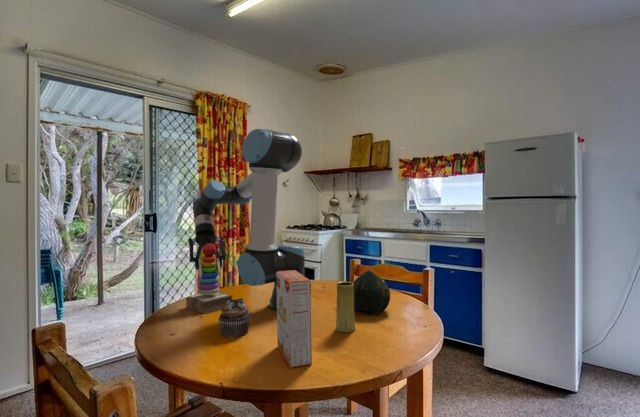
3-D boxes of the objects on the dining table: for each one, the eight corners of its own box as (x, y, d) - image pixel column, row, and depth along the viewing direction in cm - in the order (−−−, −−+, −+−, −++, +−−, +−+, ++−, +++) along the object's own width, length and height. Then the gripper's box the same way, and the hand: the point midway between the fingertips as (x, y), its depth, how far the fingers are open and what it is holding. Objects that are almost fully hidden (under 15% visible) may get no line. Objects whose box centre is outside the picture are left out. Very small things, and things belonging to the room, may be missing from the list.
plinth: (231, 306, 136) (231, 295, 136) (203, 313, 127) (203, 302, 127) (214, 300, 144) (214, 290, 144) (186, 307, 135) (186, 296, 135)
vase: (357, 327, 113) (357, 282, 113) (352, 333, 107) (352, 286, 107) (338, 325, 115) (338, 280, 115) (333, 331, 109) (333, 285, 109)
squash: (366, 305, 118) (384, 267, 125) (335, 298, 129) (353, 263, 136) (387, 326, 125) (403, 289, 132) (356, 318, 136) (372, 284, 143)
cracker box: (275, 346, 98) (275, 270, 97) (297, 343, 100) (296, 269, 99) (288, 369, 85) (287, 281, 84) (312, 365, 86) (312, 279, 86)
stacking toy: (213, 296, 131) (212, 245, 130) (193, 295, 132) (192, 244, 132) (223, 290, 138) (222, 242, 138) (204, 289, 140) (203, 242, 139)
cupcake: (216, 330, 111) (216, 298, 111) (247, 325, 115) (247, 294, 115) (220, 341, 102) (220, 306, 102) (254, 335, 106) (253, 302, 106)
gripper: (226, 233, 153) (234, 278, 138) (179, 234, 145) (182, 283, 131) (229, 221, 148) (237, 267, 133) (180, 222, 140) (183, 271, 126)
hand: (210, 274), depth 132 cm, fingers closed on stacking toy, 6 cm apart
